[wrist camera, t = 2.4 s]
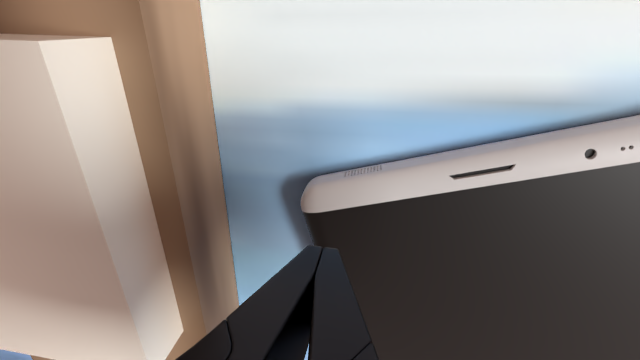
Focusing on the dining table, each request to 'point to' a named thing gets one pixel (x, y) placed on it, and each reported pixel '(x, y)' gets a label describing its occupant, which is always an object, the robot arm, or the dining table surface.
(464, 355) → the smartphone
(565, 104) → the dining table surface
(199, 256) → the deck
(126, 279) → the pale pink slab
